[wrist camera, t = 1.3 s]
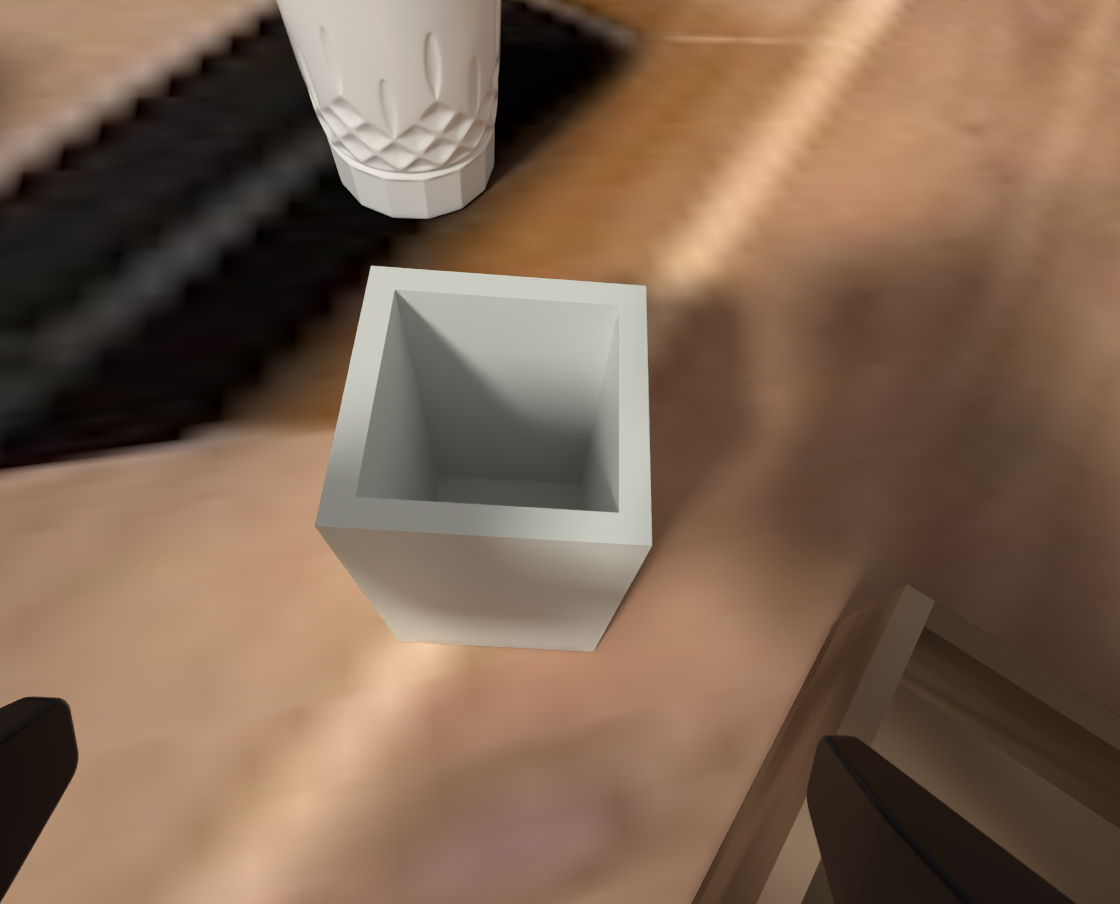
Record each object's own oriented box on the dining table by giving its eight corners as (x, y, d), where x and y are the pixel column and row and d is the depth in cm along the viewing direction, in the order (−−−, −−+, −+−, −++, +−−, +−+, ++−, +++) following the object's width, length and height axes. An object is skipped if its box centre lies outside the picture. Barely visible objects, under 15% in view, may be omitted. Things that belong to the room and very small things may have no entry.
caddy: (593, 651, 21) (651, 545, 12) (398, 641, 21) (314, 526, 12) (596, 476, 24) (645, 285, 15) (424, 466, 24) (371, 266, 15)
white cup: (508, 111, 32) (506, -150, 23) (504, 235, 29) (500, -17, 20) (339, 103, 32) (271, -167, 23) (313, 228, 28) (222, -34, 19)
